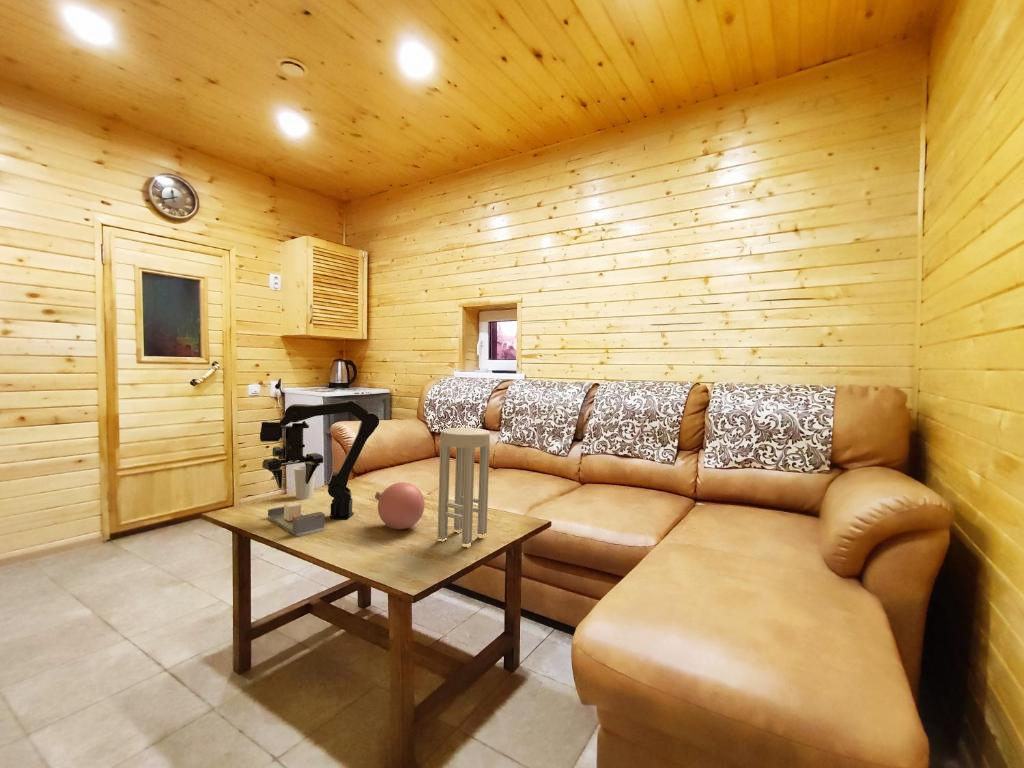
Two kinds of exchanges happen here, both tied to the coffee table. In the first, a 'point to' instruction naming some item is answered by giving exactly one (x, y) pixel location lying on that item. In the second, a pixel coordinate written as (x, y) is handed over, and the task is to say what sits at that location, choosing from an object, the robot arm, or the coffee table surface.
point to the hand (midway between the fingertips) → (293, 485)
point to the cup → (303, 483)
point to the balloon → (400, 505)
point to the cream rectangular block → (292, 511)
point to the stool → (463, 481)
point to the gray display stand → (298, 522)
